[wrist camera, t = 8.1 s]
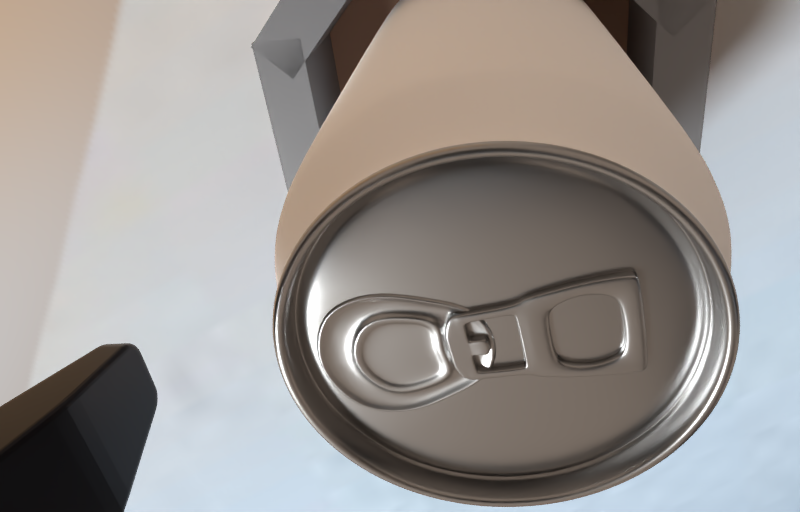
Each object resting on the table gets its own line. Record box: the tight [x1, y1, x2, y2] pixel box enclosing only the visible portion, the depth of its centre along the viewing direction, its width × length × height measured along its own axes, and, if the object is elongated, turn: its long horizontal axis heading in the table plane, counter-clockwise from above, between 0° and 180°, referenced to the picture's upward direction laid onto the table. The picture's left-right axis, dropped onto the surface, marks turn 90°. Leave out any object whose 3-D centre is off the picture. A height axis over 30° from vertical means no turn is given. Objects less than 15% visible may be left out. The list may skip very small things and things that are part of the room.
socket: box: [251, 0, 717, 191], centre depth 17 cm, size 11×11×4 cm
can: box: [273, 0, 740, 507], centre depth 13 cm, size 6×6×12 cm
